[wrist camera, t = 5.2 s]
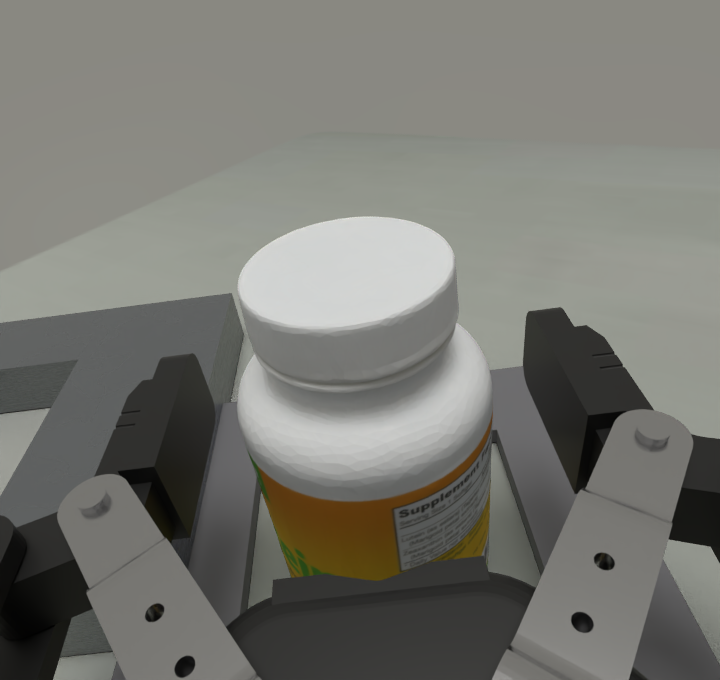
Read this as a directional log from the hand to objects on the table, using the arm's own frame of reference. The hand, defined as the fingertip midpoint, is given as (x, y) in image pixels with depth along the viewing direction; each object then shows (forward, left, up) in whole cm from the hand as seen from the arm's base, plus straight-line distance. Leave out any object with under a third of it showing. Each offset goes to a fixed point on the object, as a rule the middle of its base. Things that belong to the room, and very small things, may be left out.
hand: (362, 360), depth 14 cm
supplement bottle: (+1, +1, -6) cm, 6 cm away
